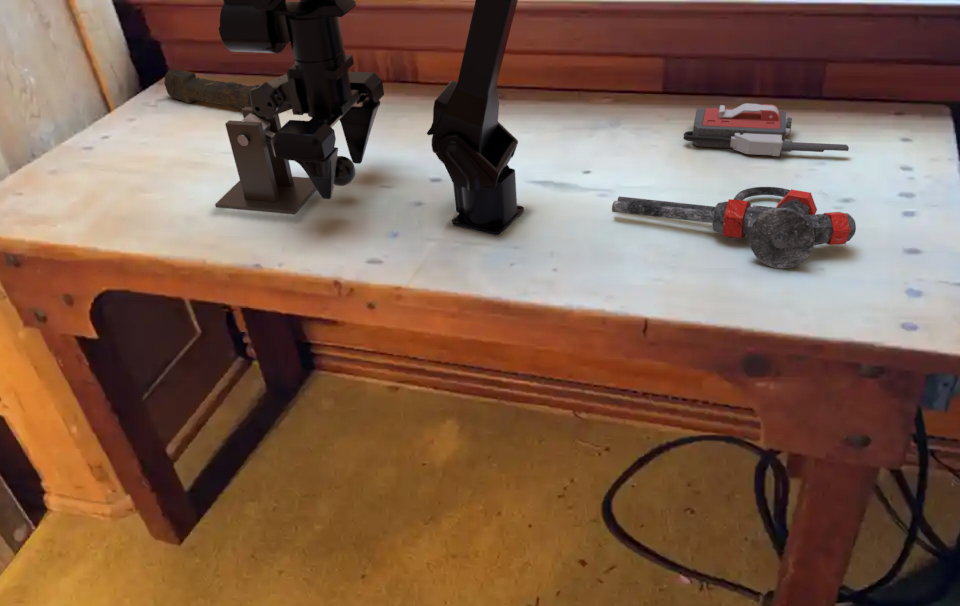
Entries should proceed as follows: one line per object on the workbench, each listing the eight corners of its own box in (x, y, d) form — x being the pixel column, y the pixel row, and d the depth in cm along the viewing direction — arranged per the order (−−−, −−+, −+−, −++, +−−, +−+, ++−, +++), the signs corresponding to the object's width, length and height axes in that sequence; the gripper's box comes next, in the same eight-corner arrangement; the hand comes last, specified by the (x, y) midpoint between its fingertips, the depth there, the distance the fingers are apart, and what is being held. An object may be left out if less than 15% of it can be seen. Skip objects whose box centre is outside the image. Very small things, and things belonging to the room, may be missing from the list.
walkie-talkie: (680, 154, 116) (847, 162, 111) (683, 122, 113) (853, 129, 108) (687, 125, 122) (844, 132, 117) (689, 94, 119) (850, 99, 114)
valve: (862, 226, 102) (843, 279, 91) (640, 201, 113) (599, 245, 101) (871, 172, 99) (853, 219, 88) (642, 151, 110) (600, 191, 98)
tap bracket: (324, 187, 116) (308, 103, 109) (295, 220, 110) (276, 133, 103) (249, 181, 119) (228, 99, 112) (217, 212, 113) (192, 128, 106)
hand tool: (270, 106, 139) (263, 77, 136) (253, 116, 136) (246, 87, 133) (181, 91, 147) (173, 63, 144) (163, 100, 145) (155, 72, 142)
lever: (356, 182, 111) (363, 158, 109) (344, 196, 109) (351, 172, 106) (249, 130, 111) (253, 106, 109) (235, 143, 109) (239, 118, 106)
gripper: (291, 23, 109) (315, 142, 119) (212, 83, 95) (247, 212, 105) (376, 25, 106) (393, 147, 116) (307, 87, 92) (334, 220, 102)
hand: (342, 180), depth 110 cm, fingers open, 9 cm apart
